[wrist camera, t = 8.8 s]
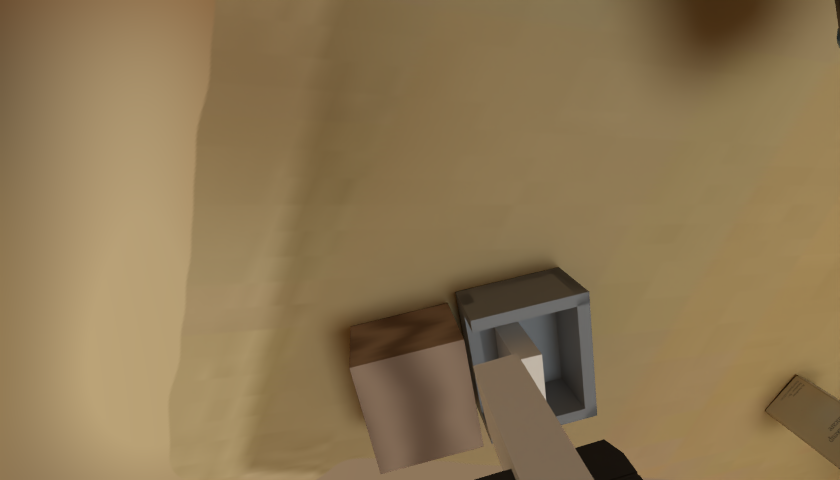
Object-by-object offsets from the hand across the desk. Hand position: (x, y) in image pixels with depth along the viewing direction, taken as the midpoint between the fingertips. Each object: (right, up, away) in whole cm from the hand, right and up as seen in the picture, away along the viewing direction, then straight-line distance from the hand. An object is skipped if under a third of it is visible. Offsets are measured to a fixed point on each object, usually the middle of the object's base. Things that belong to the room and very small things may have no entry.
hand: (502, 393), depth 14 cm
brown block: (-4, -8, +31) cm, 32 cm away
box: (+8, -5, +31) cm, 33 cm away
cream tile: (+6, -8, +28) cm, 29 cm away
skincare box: (+45, -15, +40) cm, 62 cm away
